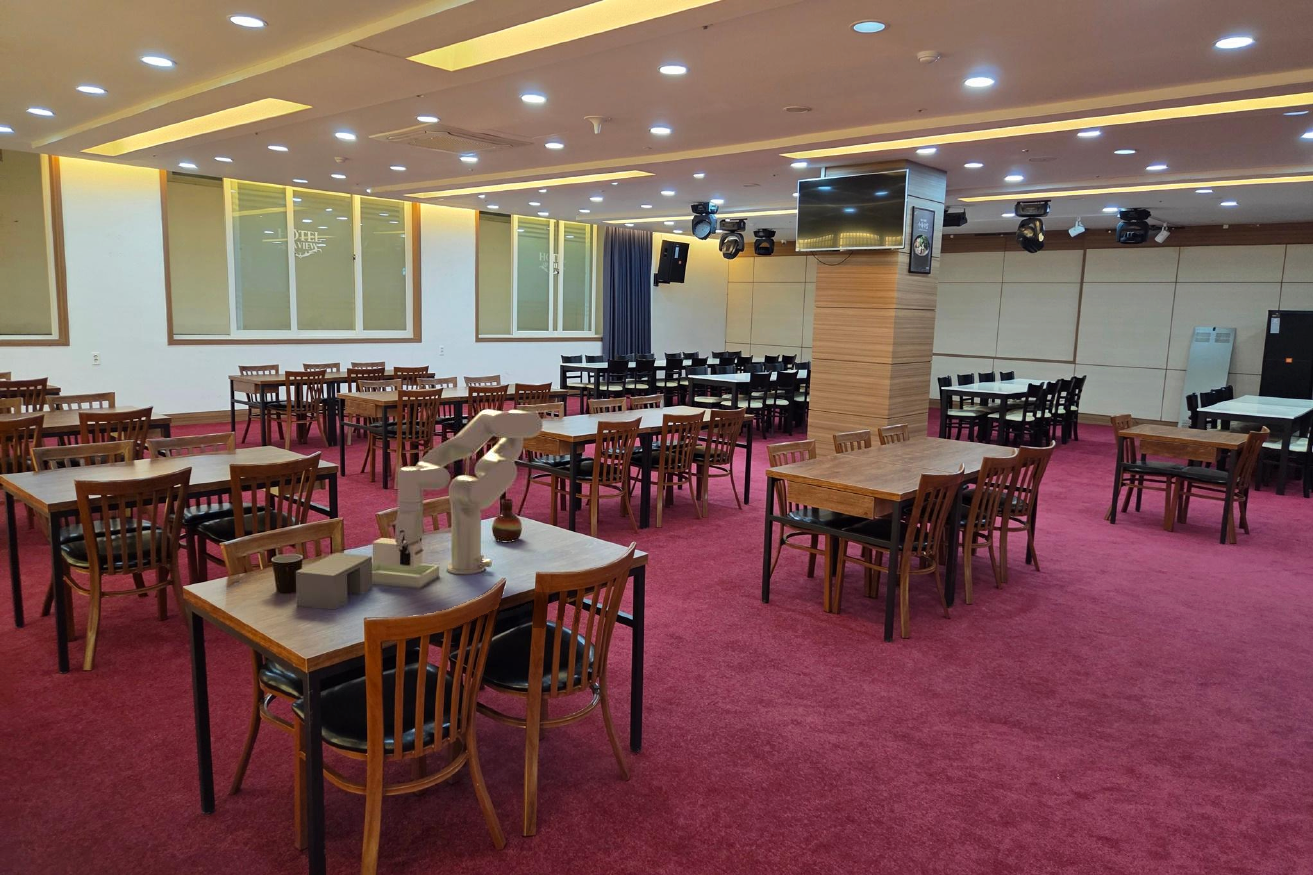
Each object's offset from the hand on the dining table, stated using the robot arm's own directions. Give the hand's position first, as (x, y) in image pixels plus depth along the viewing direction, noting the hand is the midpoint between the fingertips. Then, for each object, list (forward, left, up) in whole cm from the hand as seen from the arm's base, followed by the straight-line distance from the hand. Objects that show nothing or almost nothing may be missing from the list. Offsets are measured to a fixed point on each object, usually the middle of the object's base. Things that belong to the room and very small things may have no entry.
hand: (410, 561), depth 262 cm
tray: (+4, 0, -6) cm, 8 cm away
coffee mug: (+29, +21, -6) cm, 37 cm away
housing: (+13, +20, -6) cm, 25 cm away
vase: (-11, -54, -6) cm, 56 cm away
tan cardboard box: (+4, 0, -1) cm, 4 cm away
